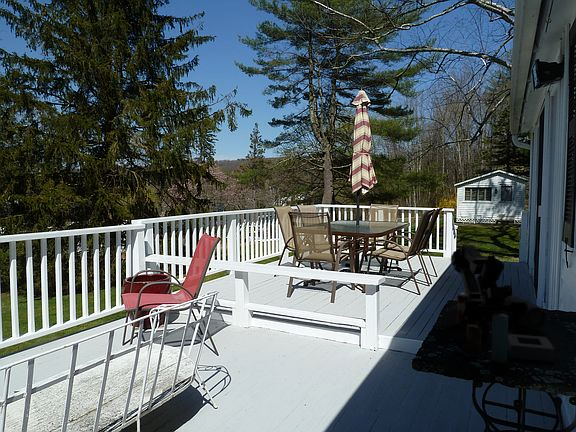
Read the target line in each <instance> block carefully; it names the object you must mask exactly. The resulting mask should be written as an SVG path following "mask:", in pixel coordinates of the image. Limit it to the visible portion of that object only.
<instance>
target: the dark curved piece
mask: <svg viewBox="0 0 576 432" xmlns="http://www.w3.org/2000/svg"><path fill="white" fill-rule="evenodd" d="M504 299H505V302H504V303H502V304H503V305H505V306H510V305H511V303H512V301H523V302H525V303H526V304H527V307H528V309H527V311H526V313H525V314H524V316H523V317H521V318H520V319H518V326H520V327H522V328H529V329H532V330H536V329H537V330H539V329H542V328H543V327H545V325H546V324H547V321H548V316H547V313H546V311H545V310H544V309H543V308H542V307H540V306H539V305H536V303H533V302H531V301H530V300H527V299H525V298H523V297H521V296H518V295H515V294H512V295H511V296H507V298H504ZM502 314H505V315H507V316H508V318H510V315H509V312H502Z"/></svg>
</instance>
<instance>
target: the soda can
mask: <svg viewBox="0 0 576 432" xmlns="http://www.w3.org/2000/svg"><path fill="white" fill-rule="evenodd" d="M466 300H468V295H467V292H460V293H458V294H457V296H456V324H457V325H458V326H460V327H462V328H466V329H467V325H468V321H467V320H466V319H465V318H464V316H463V315H462V306H463V304H464V302H465V301H466Z"/></svg>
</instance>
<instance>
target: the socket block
mask: <svg viewBox="0 0 576 432" xmlns="http://www.w3.org/2000/svg"><path fill="white" fill-rule="evenodd" d="M555 352H556V350H555V348H554V345H552V343H551V341H550V340H549V339H548V337H547V336H538V335H529V334H528V335H527V334H526V335H525V334H514V333H508V355H509V357H510V359H521V360H528V361H529V360H532V361H541V362H549V363H555V356H556V355H555Z"/></svg>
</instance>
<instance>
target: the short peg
mask: <svg viewBox="0 0 576 432" xmlns="http://www.w3.org/2000/svg"><path fill="white" fill-rule="evenodd" d="M467 350H468V351H467ZM466 351H467V352H469V351H470V352H469V353H473V352H479V353H482V340H481V330H480V329H479V327H478V326H477V325H473V324H470V325H467V328H466Z"/></svg>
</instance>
